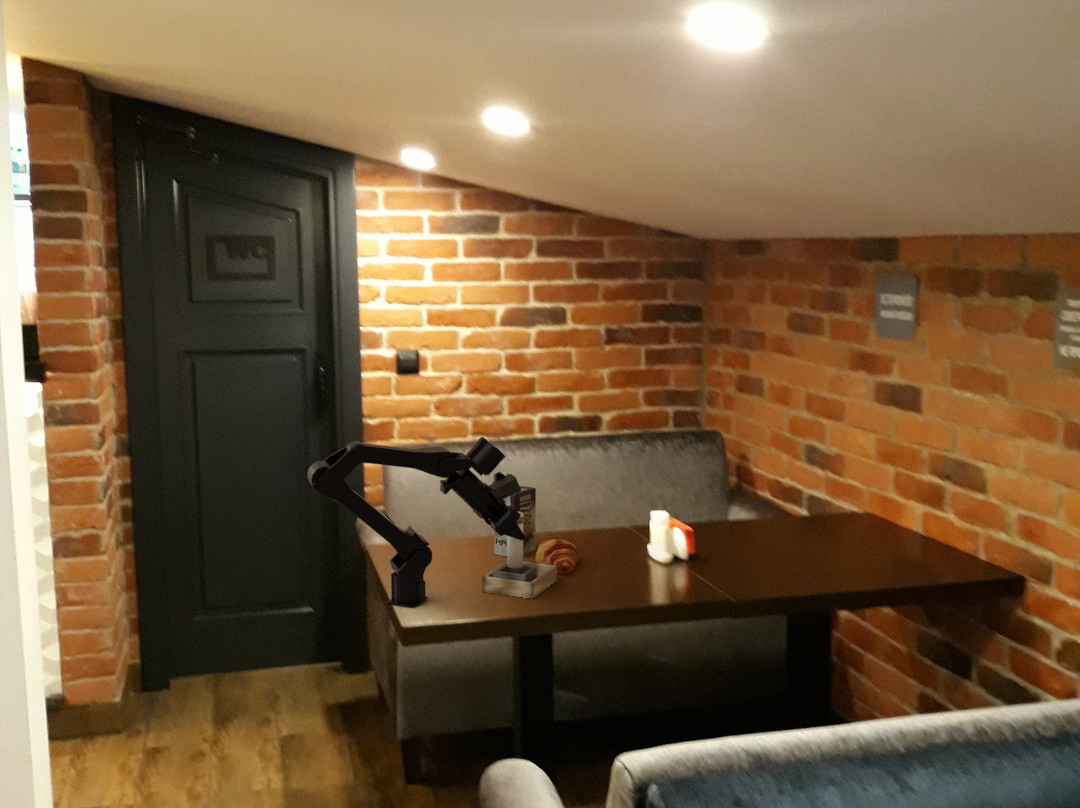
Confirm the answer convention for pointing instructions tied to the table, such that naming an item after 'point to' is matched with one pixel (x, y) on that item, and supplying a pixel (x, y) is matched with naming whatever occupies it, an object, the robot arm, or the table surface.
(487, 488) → the robot arm
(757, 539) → the table surface
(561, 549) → the croissant
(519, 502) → the coffee box
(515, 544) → the white banded cylinder
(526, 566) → the box
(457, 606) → the table surface
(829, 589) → the table surface
